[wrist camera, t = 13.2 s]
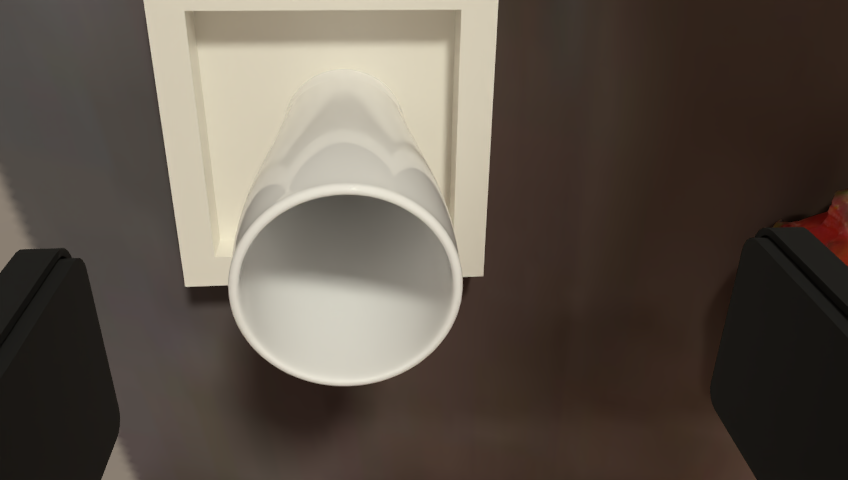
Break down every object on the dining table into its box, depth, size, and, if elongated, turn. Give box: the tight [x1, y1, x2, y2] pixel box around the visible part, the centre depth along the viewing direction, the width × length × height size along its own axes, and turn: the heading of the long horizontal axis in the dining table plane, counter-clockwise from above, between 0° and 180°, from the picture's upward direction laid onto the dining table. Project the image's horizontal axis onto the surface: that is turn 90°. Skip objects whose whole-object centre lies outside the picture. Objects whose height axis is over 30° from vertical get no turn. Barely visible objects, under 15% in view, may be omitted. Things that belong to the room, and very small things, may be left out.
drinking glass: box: [228, 69, 463, 386], centre depth 28 cm, size 7×7×15 cm
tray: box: [144, 0, 498, 287], centre depth 35 cm, size 14×14×2 cm
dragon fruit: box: [773, 188, 848, 266], centre depth 38 cm, size 8×8×12 cm
